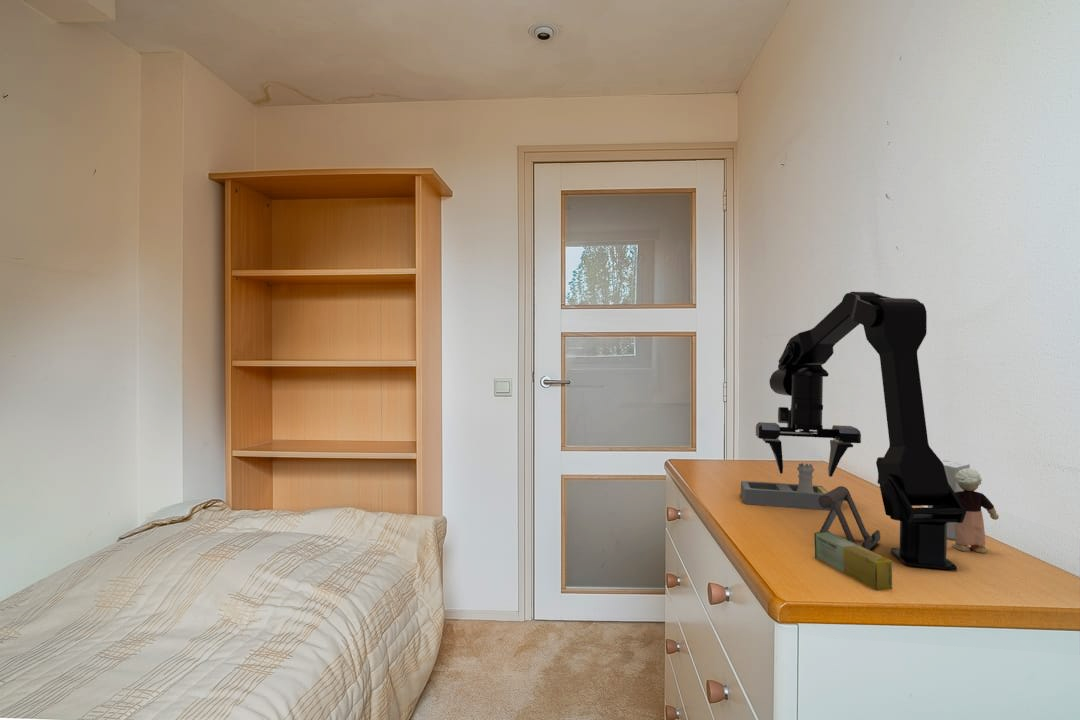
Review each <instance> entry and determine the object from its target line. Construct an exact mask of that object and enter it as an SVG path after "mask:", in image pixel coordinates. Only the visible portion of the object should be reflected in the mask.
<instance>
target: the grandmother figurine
mask: <svg viewBox="0 0 1080 720" xmlns="http://www.w3.org/2000/svg"><path fill="white" fill-rule="evenodd" d="M955 479H956V482H957V483H958V484H959V486H960V488H961V489H963V490H964V491H959V492H955V494H956V495H957V497H958V499H959V500H960V502H961V503H962V505H963V506H964V508H965V509H966V515H965V517H964V520H963V523H957V522H955V542H954V543H953V544H952V548H954V549H956V550H958V551H960V552H966V553H968V552H971V550H972V551H973V552H975V553H981V554H986V553H987V552H988V549H987V547H986V532H985V524H984V523H985V522H984V518H983V512H982V508H983V509H984V510H986V511H987V512H988V514H989V515H990V516H989V517H990V518H991V519H992V520H995V521H997V520H999V517H1000V516H999V514H998V513H997V510H996V509H995V506H994V504H993V503H992V502H991V501H990V499H988V497H987V496H986V495H985V494H984V493H982V492H979V491H976V490H978V488H979V486H980V485H982V481H983V479H982V477H981V474H980V473H979V472H978V470H976V469H973V468H971V467H970V468H965V469H962V470H959V472H957V474H956V475H955ZM969 546H970V547H969Z"/></svg>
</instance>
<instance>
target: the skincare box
mask: <svg viewBox="0 0 1080 720" xmlns="http://www.w3.org/2000/svg"><path fill="white" fill-rule="evenodd" d="M941 462H942V463H943V465H944V468H945V472H946V476H947V480H948V483H949V485H950V486H951V488H952V489H953V491H954V492H959V491H964V490H963V489H961V488H960V486H959V484H958V483H957V482H956V479H955V475H956V474H957V472H959V470H962V469H965V468H970V469H971V467H970V466H971V465H970V463H964V462H958V461H950V460H941ZM927 508H933V506H927ZM947 540H953V541H954V540H955V541H956V539H955V522H947Z"/></svg>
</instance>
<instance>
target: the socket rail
mask: <svg viewBox="0 0 1080 720" xmlns="http://www.w3.org/2000/svg"><path fill="white" fill-rule="evenodd" d="M812 486H813V491H814V492H815V493H813V492H798V491H796V490H797V488H798V483H797V484H796V483H781V482H767V481H766V482H765V481H753V480H752V481H751V480H750V481H749V480H740V496H741V499H742V498H743V499H742V500H743V504H745V505H751V504H755V505H754V506H765V505H768V506H767V507H780V508H781V507H782V508H794V509H805V510H807V509H808V510H819V511H820V510H821V511H830V509H825V508H822V507H821V506H820V504H819V502H818V500H819V497H820V496H822V495H824V494H826V493H828V492H829V491H828V490H827V489H826V488H825V487H824V486H823V485H813V484H812ZM756 504H757V505H756Z"/></svg>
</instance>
